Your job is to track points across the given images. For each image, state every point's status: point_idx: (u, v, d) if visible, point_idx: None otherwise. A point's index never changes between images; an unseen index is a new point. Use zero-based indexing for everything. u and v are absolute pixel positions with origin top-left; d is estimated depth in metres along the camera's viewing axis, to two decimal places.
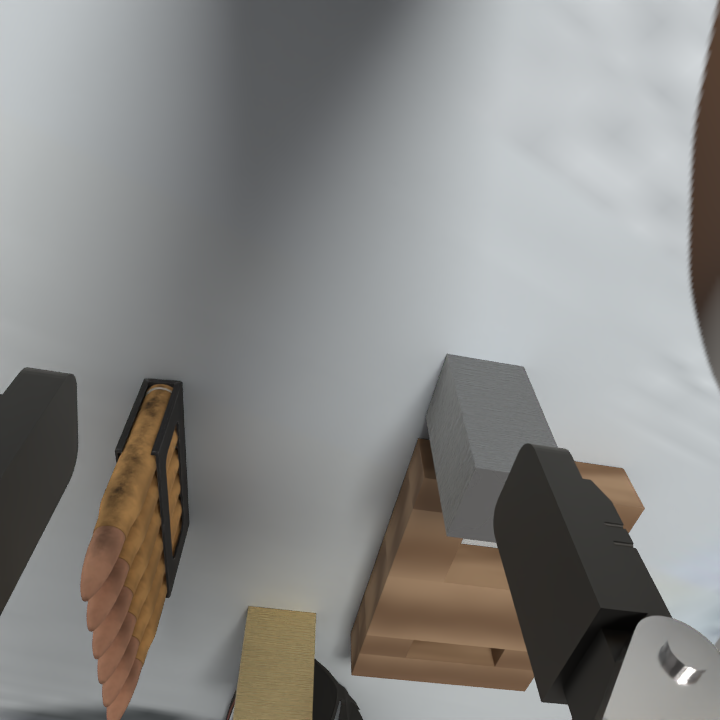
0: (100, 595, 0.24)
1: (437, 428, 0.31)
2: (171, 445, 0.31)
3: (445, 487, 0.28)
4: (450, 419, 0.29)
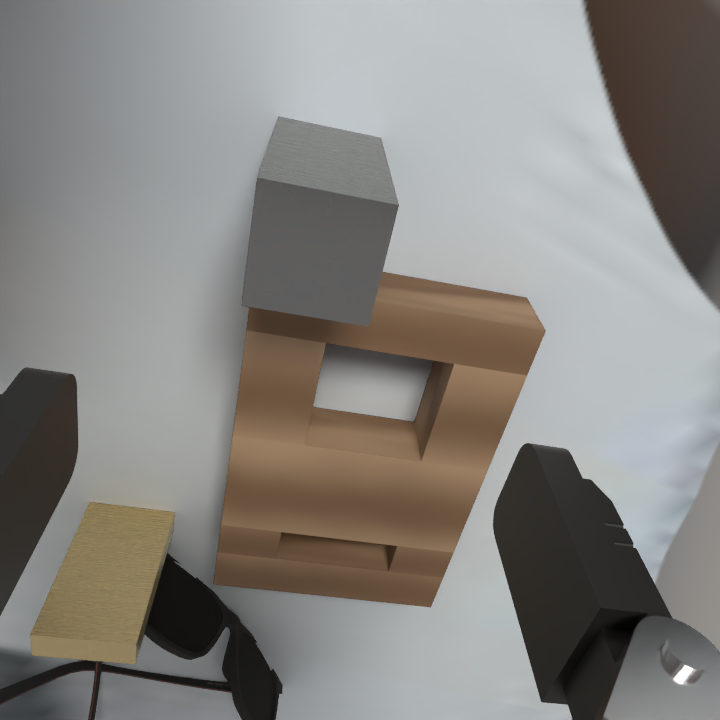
0: None
1: None
2: None
3: None
4: None
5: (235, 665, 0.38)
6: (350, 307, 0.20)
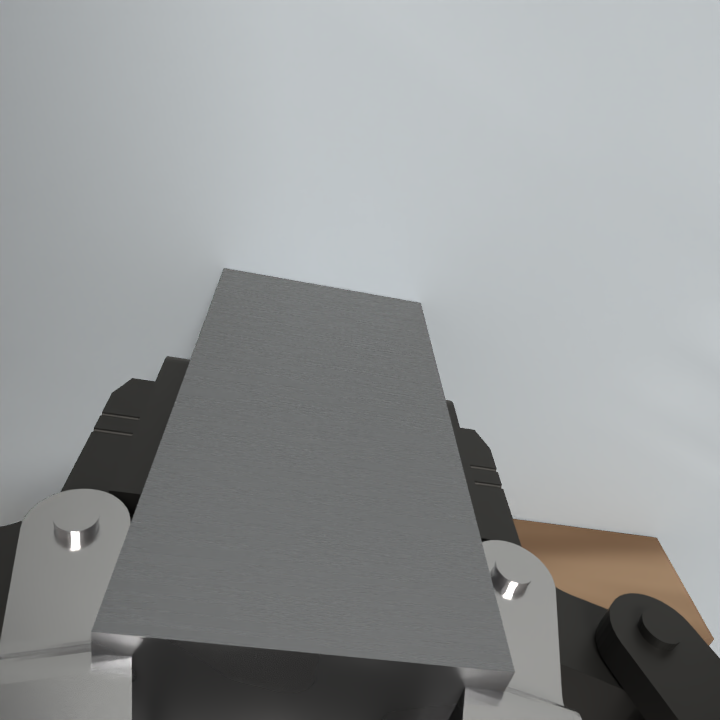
0: None
1: None
2: None
3: None
4: None
5: None
6: None
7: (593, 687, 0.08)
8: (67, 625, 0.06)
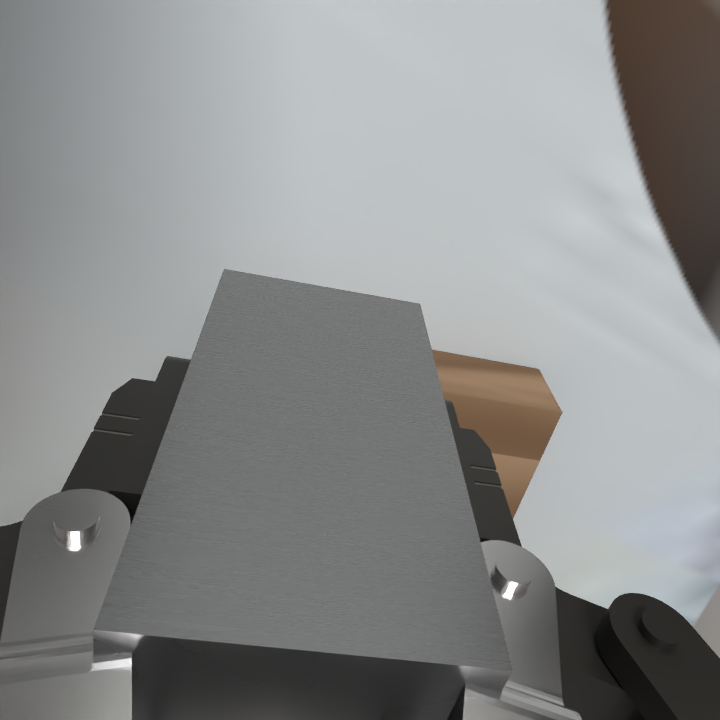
0: None
1: None
2: None
3: None
4: None
5: None
6: None
7: (593, 687, 0.08)
8: (67, 625, 0.06)
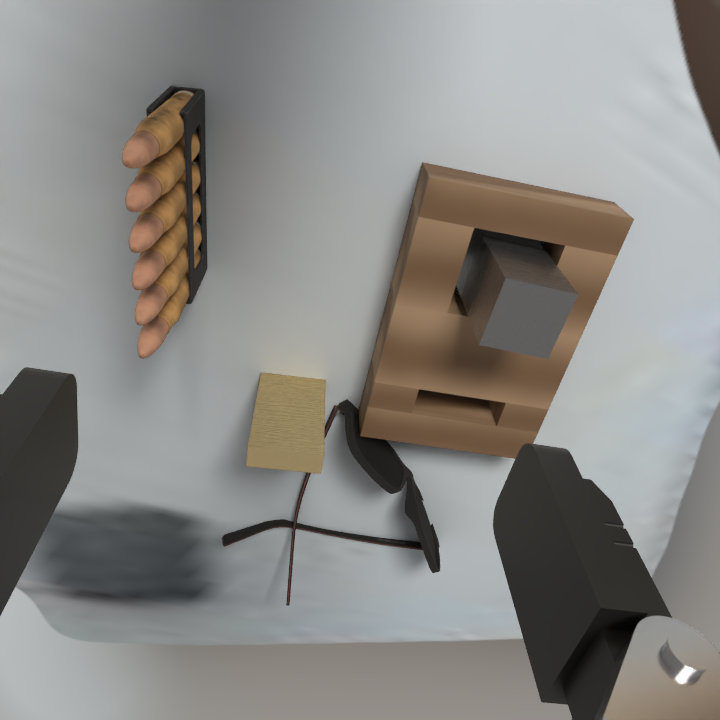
0: (138, 188, 0.26)
1: (467, 281, 0.38)
2: (194, 144, 0.34)
3: (476, 314, 0.35)
4: (480, 265, 0.36)
5: (415, 507, 0.48)
6: (540, 348, 0.34)
7: None
8: None
